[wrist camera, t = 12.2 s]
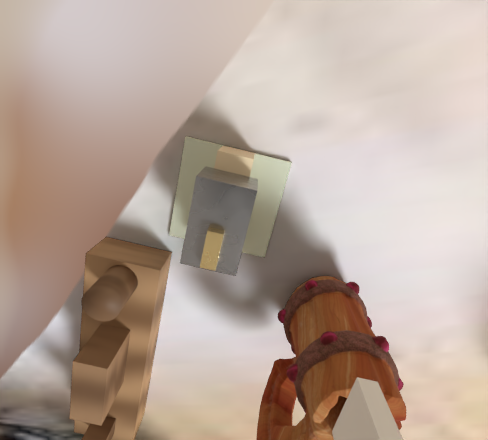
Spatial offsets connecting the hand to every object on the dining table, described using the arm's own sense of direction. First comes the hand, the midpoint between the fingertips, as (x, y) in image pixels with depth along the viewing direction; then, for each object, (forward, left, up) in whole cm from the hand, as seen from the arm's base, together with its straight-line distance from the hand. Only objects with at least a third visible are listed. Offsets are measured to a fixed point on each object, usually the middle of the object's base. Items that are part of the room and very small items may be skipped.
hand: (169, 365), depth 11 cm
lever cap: (0, 0, -17) cm, 17 cm away
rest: (0, 0, -21) cm, 21 cm away
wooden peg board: (-19, +8, -21) cm, 29 cm away
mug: (-11, -11, -21) cm, 26 cm away
